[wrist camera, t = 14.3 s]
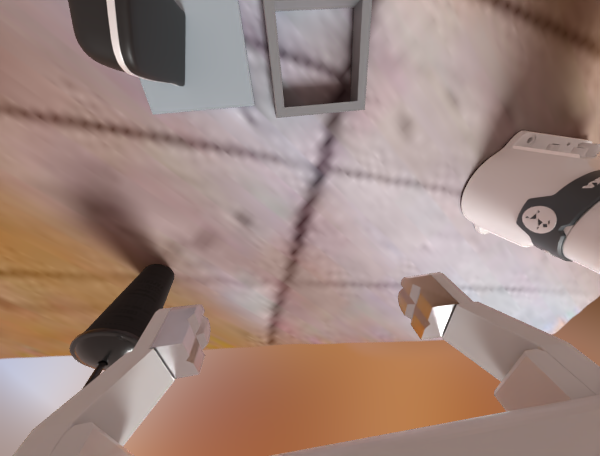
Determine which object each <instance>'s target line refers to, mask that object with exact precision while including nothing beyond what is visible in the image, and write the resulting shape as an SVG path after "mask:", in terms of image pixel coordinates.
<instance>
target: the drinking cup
mask: <svg viewBox="0 0 600 456" xmlns="http://www.w3.org/2000/svg"><path fill="white" fill-rule="evenodd" d="M173 280H174V273H173V272H172V270H171V269H169V268H168V267H166V266H164V265H159V264H154V265H150V266H148V267H146V268H145V269H144V270H143V271H142V272H141V273H140V274H139V275H138V276H137V277H136V278H135V280H134V281H133V282H132V283H131V284H130V285H129V286H128V287H127V288H126V289H125V290H124V291H123V292H122V293H121V294H120V295H119V296H118V297H117V298H116V299H115V300H114V302H113V303H112V304H111V305H110V306H109V307H108V308H107V309H106V310H105V311H104V312H103V313H102V314H101V315H100V316H99V317H98V318H97V319H96V320H95V321H94V322H93V324H92V325H91V326H90V327H89V328H88V329H87V330H86V331H85V332H83V333H82V334H80V335H78V336H77V337H76V338H75V339H74V340H73V341H72V343H71V345H70V353H71V355H72V356H73V357H74V359H76V360H77V361H78V362H80V363H82V364H83V365H86V366H88V367H91V368H94V369H95V370H94V372H93V373H92V375H91V376H90V378H89V380H88V381H87V383H86V384H85V386H84V387H86V386H87V385H88V384H89V383H90V382H92V381H93V380H94V379H95V378H96V377H98V376H99V375H100V373H101V372H102V370H106V369H107V368H109V367H110V366H111V365H112V364H114V363H115V362H116V361H117V360H118V359H120V358H121V357H122V356H123V355H125V354H126V353H127V352H131V351H133V349H134V347H135V346H136V344H137V342H138V341H139V339H140V337H141V335H142V334H143V332H144V330H145V329H146V327H147V325H148V324H149V322H150V320H151V319H152V317H153V315H154V314H155V312H156V311H158V310H159V309H163V306H164V303H165V301H166V298H167V296H168V293H169V290H170V288H171V285H172V283H173ZM84 387H83V388H84Z"/></svg>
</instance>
